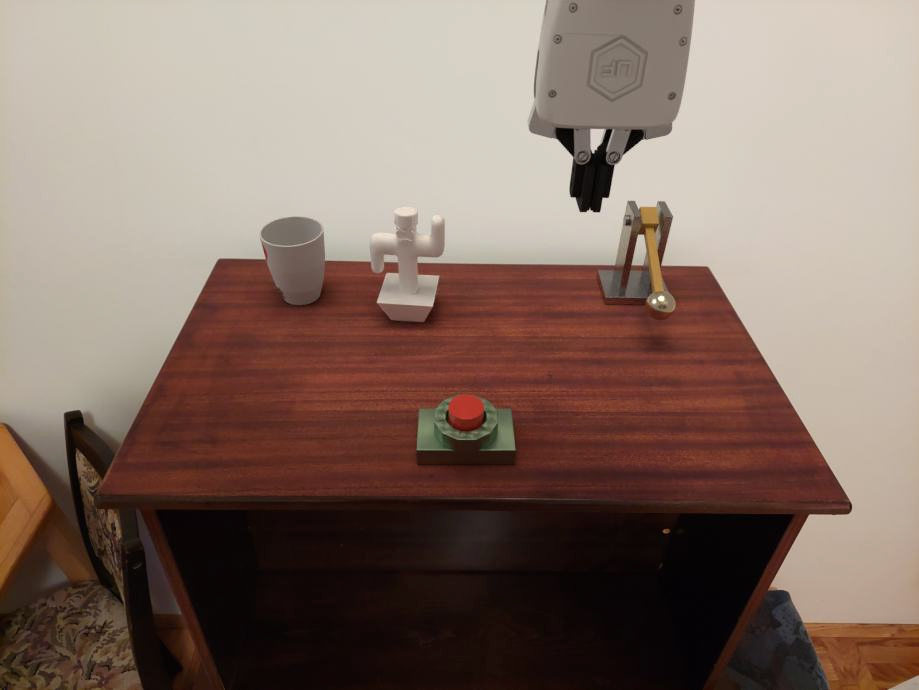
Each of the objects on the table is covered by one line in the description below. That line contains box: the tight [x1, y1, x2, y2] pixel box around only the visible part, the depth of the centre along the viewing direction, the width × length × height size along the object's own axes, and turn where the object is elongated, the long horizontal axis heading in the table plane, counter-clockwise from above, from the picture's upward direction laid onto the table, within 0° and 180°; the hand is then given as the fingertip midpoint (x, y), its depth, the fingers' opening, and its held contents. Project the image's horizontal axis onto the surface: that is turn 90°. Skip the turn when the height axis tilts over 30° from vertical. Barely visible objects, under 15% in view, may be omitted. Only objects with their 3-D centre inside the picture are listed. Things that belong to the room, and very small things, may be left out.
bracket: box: [596, 200, 674, 306], centre depth 88 cm, size 7×9×13 cm
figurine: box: [369, 206, 446, 323], centre depth 82 cm, size 7×9×15 cm
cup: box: [258, 215, 326, 306], centre depth 86 cm, size 8×8×10 cm
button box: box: [415, 394, 517, 465], centre depth 67 cm, size 10×6×4 cm, turn 91°
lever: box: [638, 206, 677, 321], centre depth 82 cm, size 16×4×4 cm, turn 0°
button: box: [448, 394, 484, 431], centre depth 65 cm, size 4×4×2 cm
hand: (587, 204), depth 52 cm, fingers closed
